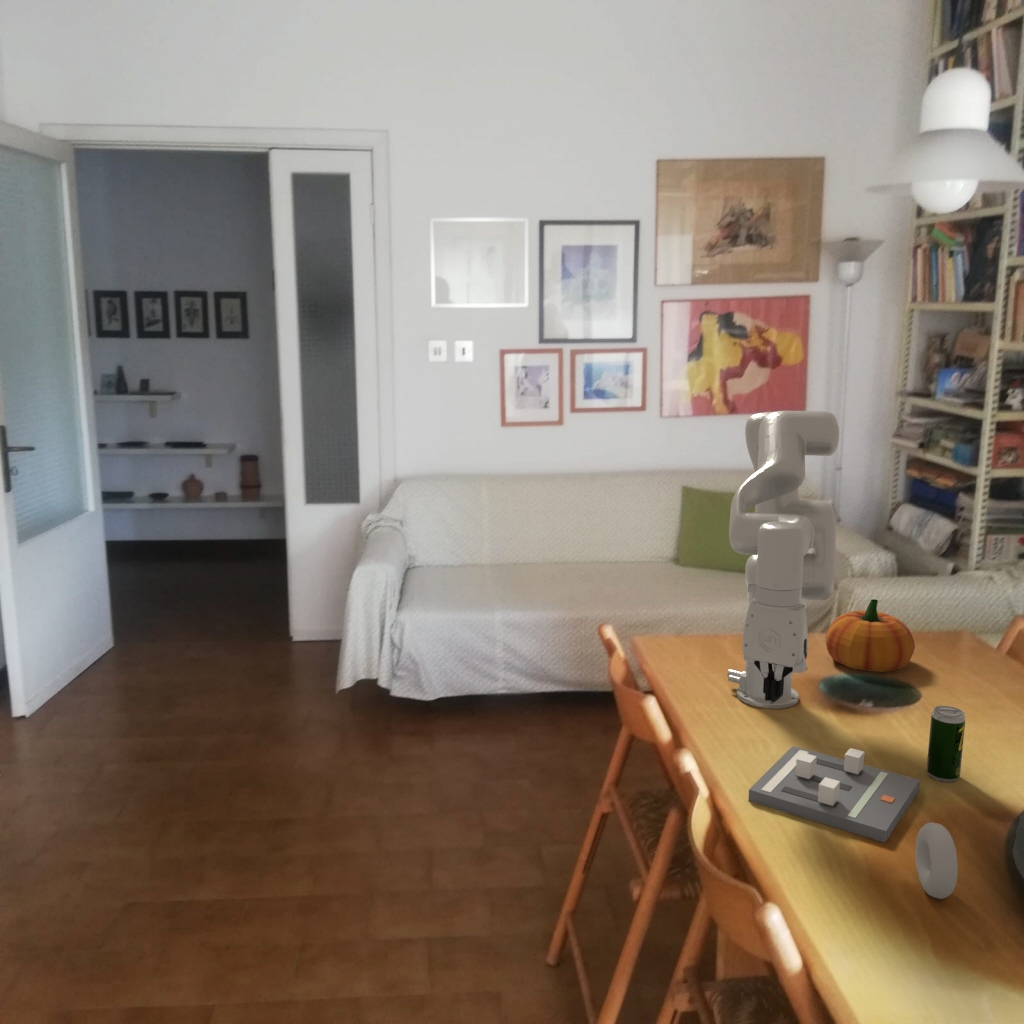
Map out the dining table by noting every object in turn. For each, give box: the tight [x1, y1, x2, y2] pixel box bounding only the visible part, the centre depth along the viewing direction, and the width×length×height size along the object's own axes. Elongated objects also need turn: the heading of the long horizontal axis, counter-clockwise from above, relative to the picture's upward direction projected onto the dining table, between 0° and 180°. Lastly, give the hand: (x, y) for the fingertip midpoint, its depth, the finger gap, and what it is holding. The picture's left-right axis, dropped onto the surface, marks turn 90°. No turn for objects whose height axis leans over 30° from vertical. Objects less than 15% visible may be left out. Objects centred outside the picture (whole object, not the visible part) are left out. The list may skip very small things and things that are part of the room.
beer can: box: [926, 705, 966, 783], centre depth 164 cm, size 5×5×12 cm
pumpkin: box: [824, 598, 916, 673], centre depth 217 cm, size 19×19×15 cm
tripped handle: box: [796, 753, 817, 779], centre depth 161 cm, size 2×3×3 cm
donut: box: [914, 822, 959, 900], centre depth 131 cm, size 10×4×10 cm, turn 173°
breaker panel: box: [748, 745, 921, 844], centre depth 158 cm, size 22×20×5 cm
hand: (772, 698), depth 162 cm, fingers closed
